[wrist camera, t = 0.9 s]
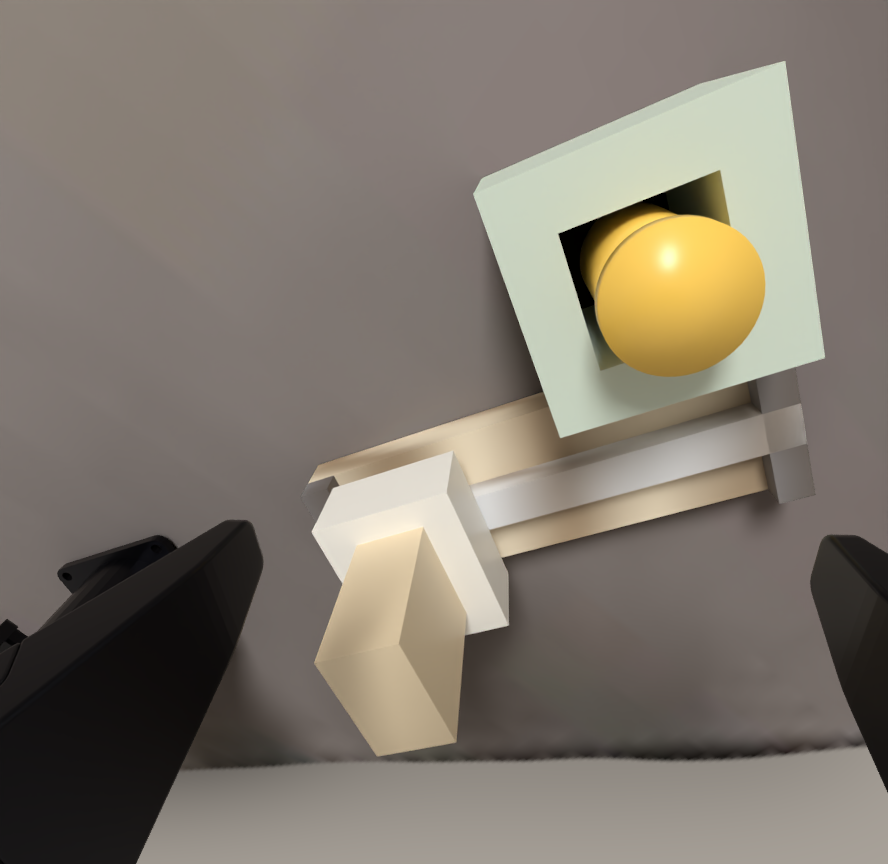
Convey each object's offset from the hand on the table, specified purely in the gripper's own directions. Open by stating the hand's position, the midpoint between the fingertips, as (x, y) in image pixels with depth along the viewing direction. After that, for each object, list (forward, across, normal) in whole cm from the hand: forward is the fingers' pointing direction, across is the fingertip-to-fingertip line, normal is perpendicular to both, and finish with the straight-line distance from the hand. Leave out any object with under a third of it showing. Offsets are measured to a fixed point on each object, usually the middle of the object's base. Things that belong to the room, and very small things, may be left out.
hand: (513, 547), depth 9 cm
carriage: (+10, +4, +8) cm, 14 cm away
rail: (+13, 0, +7) cm, 15 cm away
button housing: (+14, -3, -2) cm, 14 cm away
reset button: (+11, -3, -2) cm, 11 cm away
